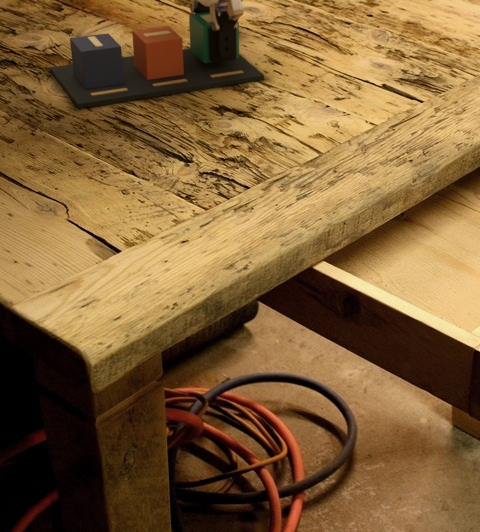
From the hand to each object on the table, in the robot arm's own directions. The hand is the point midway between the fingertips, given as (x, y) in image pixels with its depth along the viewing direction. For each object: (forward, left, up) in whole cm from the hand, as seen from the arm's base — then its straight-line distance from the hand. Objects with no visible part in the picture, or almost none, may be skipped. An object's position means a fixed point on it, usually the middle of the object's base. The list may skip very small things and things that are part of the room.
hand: (214, 51), depth 110 cm
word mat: (-7, 0, -2) cm, 7 cm away
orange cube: (-7, 0, -1) cm, 7 cm away
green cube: (0, 0, 0) cm, 0 cm away
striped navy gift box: (-14, 0, -1) cm, 14 cm away
